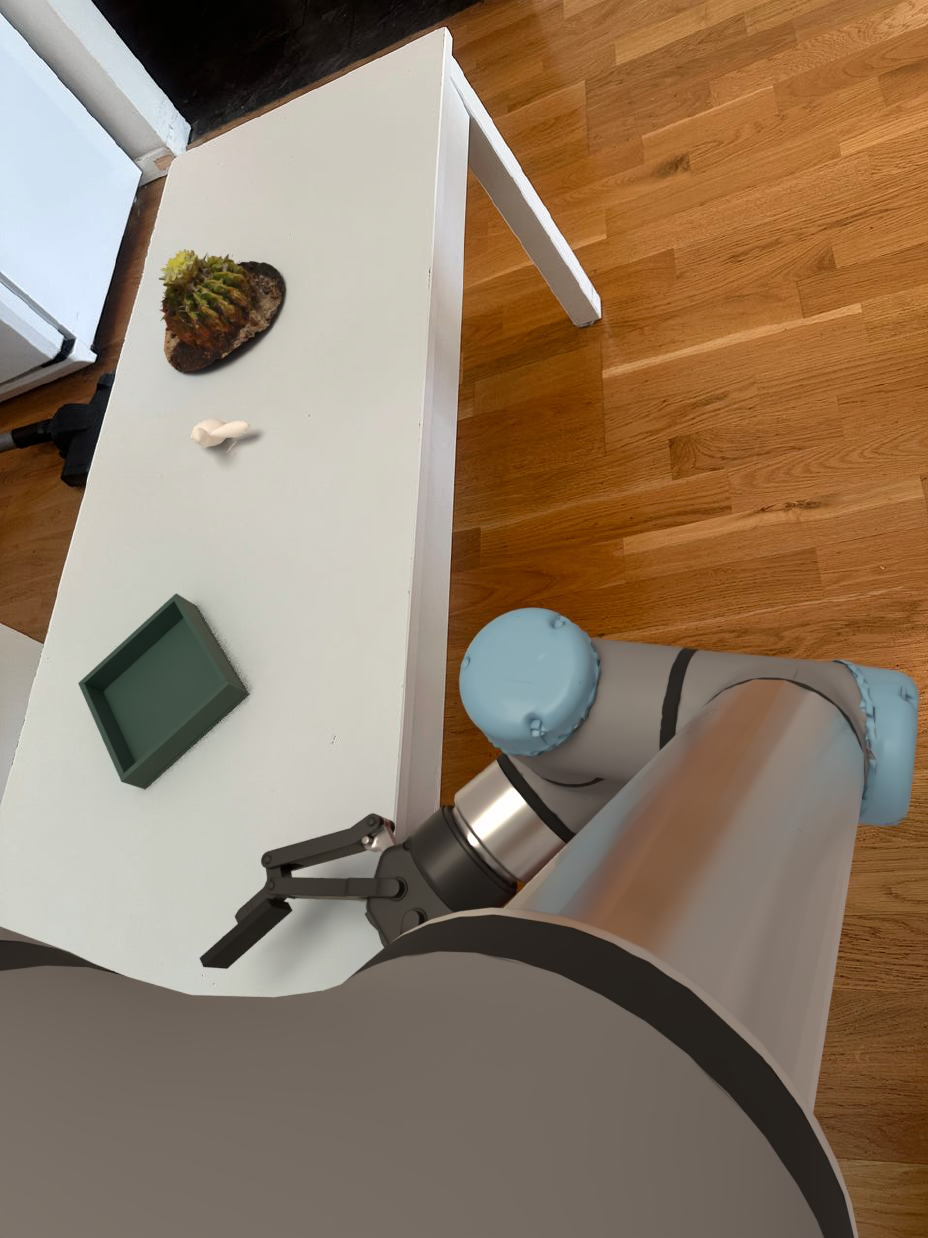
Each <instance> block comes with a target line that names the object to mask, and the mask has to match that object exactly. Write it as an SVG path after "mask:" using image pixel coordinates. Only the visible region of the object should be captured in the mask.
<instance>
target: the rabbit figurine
mask: <svg viewBox="0 0 928 1238" xmlns="http://www.w3.org/2000/svg"><path fill="white" fill-rule="evenodd" d="M250 429H251V423H249V422H248V421H246V420H234V421H230V422H227V423H226V422H225V421H223V420H222V419H219V418H207V419H204V420H202V421H199V422H198V423H197V424H195V426H194V427H193V428H192V430H191V435H190V437H189V438H190V439H191V440H192V441H193V442H194V444H196V445H198V446H201V447H215V446H218V445H220V444H222V443H223V442H224V441H225V440H226V439H227V438H228V439H229V438H234V437H239V436H242V435H244V434H245V433H247V432H249V430H250ZM237 443H238V441H237V440H235V441H234V442H233V443H232V444H231V445H230V446H229V448H227V450H226V453H229V452H230V451H231V450H232V449H233V448H234V446H235V445H236V444H237Z"/></svg>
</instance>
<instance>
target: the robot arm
mask: <svg viewBox="0 0 928 1238" xmlns="http://www.w3.org/2000/svg"><path fill="white" fill-rule="evenodd" d="M459 670H460V671H459V679H458V687H459V694H460V699H461V702H462V705H463V707H464V710H465V712H466V713H467V716H468V718H469V719H470V721H472V723H473V724H474V725H475V726H476V727H477V728H478V729H479V730H480V731H481V732H482V733H483V735H484V736H485V737H486V738H487V740H488V742H489V743H490V744H491V743H492V745H493V747H494V748H495V749H500V751H501V752H502V753H501V754H499V755H498V756H497V758H496V759H494V760H493V761H492V762H491V763H490V764H488V765H487V766H486V767H485V768H484V769H483V770H482V771H480V772H479V773H478V774H477V775H476V776H474V778H472V779H471V780H470V781H469V782H467V783H466V784H465V785H463V787H461V788H460V789H459V790H458V791H457V792H455V794H454V800H453V802H454V805H455V806H454V805H452V804H448V805H446V804H444V805H442V806H441V807H439V808H438V809H437V810H436V811H435V812H433V813H432V814H431V815H430V816H429V817H428V818H427V819H425V820H424V821H423V822H422V823H421V824H420V825H419V826H418V827H417V828H415V829H414V831H412V832H411V833H410V834H409V836H408V837H407V838H406V840H404V841H403V842H401V843H399V842H398V841H397V838H396V836H395V834H394V833H395V831H396V823H395V822H394V821H393V820H392V819H389V818H387V817H384V816H382V815H380V814H377V813H374V812H373V813H369V814H368V815H366V816H365V817H363V818H362V819H361V820H359V821H357V822H356V823H355V824H354V825H352V826H351V827H349V828H345V829H342V830H338V831H334V832H332V833H327V834H324V835H320V836H316V837H314V838H310V839H306V840H303V841H299V842H296V843H292V844H288V845H285V846H282V847H278V848H275V849H271V850H268V851H265V852H264V853H263V854H262V855H261V858H260V863H261V866H262V867H263V868H264V869H265V874H266V881H265V883H264V885H263V887H262V888H261V889H259V891H258V892H256V894H254V895H253V896H252V897H251V898H250V899H248V901H247V902H245V903H244V904H243V905H242V906H241V907H240V908H239V909H238V910H237V911H236V913H235V914H234V919H235V921H236V923H237V924H235V925H234V926H233V927H232V928H231V929H230V930H229V931H228V932H227V933H226V934H224V935H223V936H222V937H221V938H220V939H219V940H218V941H216V942H215V943H214V944H213V945H212V946H211V947H209V949H208V950H206V951H205V952H204V953H203V954H202V955H201V956H199V961H200V963H201V966H202V967H203V968H210V969H221V970H222V969H224V970H228V969H229V968H231V966H232V965H234V964H235V963H236V962H237V961H238V960H240V958H242V956H243V955H245V954H246V953H247V952H248V951H249V950H250V949H251V948H253V947H254V946H255V945H256V944H257V943H258V942H259V941H261V939H263V938H264V937H265V936H267V934H268V933H270V931H272V930H273V929H274V928H275V927H276V926H278V925H279V923H281V922H282V921H283V920H285V918H286V917H287V916H289V915H290V914H291V913H292V912H293V908H292V906H291V905H290V903H289V902H288V901H287V899H289V900H296V899H297V900H298V899H299V900H327V901H328V900H330V901H332V900H333V901H360V902H365V910H366V912H365V913H364V916H365V918H366V919H367V921H368V924H370V925H371V926H372V927H373V928H374V929H375V930H376V931H377V933H378V937H379V940H380V943H381V945H382V947H383V948H382V949H381V950H380V951H378V952H377V953H376V954H375V955H374V956H372V957H371V958H370V959H369V960H368V961H367V962H365V963H364V964H363V965H362V966H361V967H360V968H358V969H357V970H356V971H355V972H354V973H353V974H351V975H350V976H349V977H348V978H347V979H346V980H344V981H343V982H342V983H340V984H338V985H335V986H332V987H329V988H326V989H324V990H317V991H310V992H303V993H295V994H288V995H287V994H286V995H281V996H247V995H246V996H245V995H243V996H242V995H207V994H205V995H204V994H203V995H202V994H190V993H185V992H183V991H178V990H175V989H172V988H169V987H166V986H161V985H158V984H154V983H151V982H147V981H144V980H141V979H137V978H133V977H130V976H127V975H124V974H122V973H119V972H117V971H115V970H113V969H109V968H106V967H104V966H102V965H99V964H97V963H94V962H92V961H90V960H88V959H87V958H84V957H82V956H79V955H77V954H75V953H73V952H71V951H69V950H66V949H63V948H61V947H58V946H55V945H52V944H50V943H47V942H44V941H41V940H38V939H37V938H33V937H31V936H27V935H24V934H22V933H19V932H17V931H14V930H11V929H8V928H5V927H3V926H0V1238H859V1233H858V1228H857V1224H856V1217H855V1213H854V1207H853V1203H852V1200H851V1197H850V1193H849V1191H848V1188H847V1185H846V1183H845V1180H844V1176H843V1173H842V1170H841V1168H840V1166H839V1162H838V1159H837V1158H836V1156H835V1154H834V1152H833V1149H832V1147H831V1145H830V1143H829V1141H828V1140H827V1137H826V1135H825V1133H824V1131H823V1128H822V1126H821V1125H820V1123H819V1121H818V1119H817V1117H816V1116H815V1114H814V1110H815V1104H816V1098H817V1091H818V1085H819V1077H820V1071H821V1066H822V1060H823V1059H822V1057H823V1052H824V1047H825V1046H824V1045H825V1039H826V1033H827V1028H828V1027H827V1026H828V1021H829V1013H830V1007H831V1000H832V999H831V998H832V994H833V987H834V982H835V975H836V968H837V961H838V955H839V948H840V942H841V936H842V929H843V923H844V917H845V916H844V915H845V910H846V903H847V898H848V890H849V884H850V878H851V871H852V864H853V858H854V852H855V845H856V839H857V838H856V837H857V832H858V826H859V825H865V826H874V827H883V828H885V827H890V826H897V825H899V824H900V823H901V822H902V821H903V820H904V819H905V818H907V814H908V812H909V809H910V805H911V798H912V791H913V788H912V787H913V781H914V773H915V772H914V771H915V764H916V763H915V761H916V752H917V742H918V741H917V739H918V728H919V727H918V726H919V703H920V691H919V689H918V686H917V684H916V682H915V680H913V679H912V677H911V676H909V675H908V674H906V673H905V672H902V671H899V670H896V669H888V668H881V667H875V666H866V665H861V664H856V663H854V662H851V661H849V660H845V659H836V658H834V659H833V660H830V661H827V660H817V659H816V660H815V659H806V658H805V659H804V658H791V657H780V656H769V655H759V654H758V655H757V654H748V653H737V652H723V651H715V650H714V651H713V650H701V649H699V648H689V647H683V646H673V645H665V644H656V643H655V644H654V643H645V642H636V641H626V640H616V639H608V638H607V639H606V638H598V637H597V638H596V637H590V636H589V634H588V632H586V631H584V629H582V628H581V627H580V626H579V625H578V624H577V623H574V622H572V621H571V620H570V619H569V618H567V616H564V615H561V614H560V612H556V611H553V610H551V609H548V608H543V607H542V608H541V607H525V608H517V609H514V610H509V611H508V612H506V613H505V612H504V614H501V615H499V616H497V617H496V618H494V619H493V620H491V621H490V622H489V623H487V624H486V625H485V626H484V627H483V628H482V629H481V630H480V631H479V632H477V634H476V635H475V637H473V640H472V641H471V642H470V644H469V646H468V648H467V649H466V652H465V654H464V656H463V659H462V662H461V663H460V669H459ZM367 851H369V852H372V853H379V852H382V853H381V854H380V856H379V859H378V862H377V865H376V868H375V871H374V874H373V877H343V878H341V877H306V876H305V877H302V876H301V877H300V876H299V877H297V876H293V872H294V871H299V870H303V869H305V868H306V869H307V868H310V867H313V866H316V865H320V864H324V863H329V862H332V861H336V860H340V859H343V858H347V857H350V856H354V855H358V854H361V853H364V852H367ZM518 882H519V883H521V884H522V883H524V884H526V885H524V886H523V887H522V889H520V891H517V890H518V887H519V885H518ZM517 892H518V893H517Z"/></svg>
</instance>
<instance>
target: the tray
mask: <svg viewBox="0 0 928 1238" xmlns="http://www.w3.org/2000/svg"><path fill="white" fill-rule="evenodd" d="M78 687H79V689H80V691H81V693H82V695H83V697H84V700H85V702H86V704H87V707H88V710H89V712H90V714H91V716H92V718H93V720H94V721H93V722H94V723H95V725H96V727H97V730H98V731H99V734H100V737H101V739H102V741H103V743H104V745H105V746H104V747H105V748H106V750H107V753H108V755H109V757H110V759H111V762H112V764H113V766H114V769H115V771H116V773H117V775H118V777H119V780H120V782H121V783H123V784H126V785H130V786H133V787H136V788H139V789H143V790H146V789H147V788H148V787H149V786H150V785H151V784H153V782H155V781H156V780H157V779H158V778H159V777H160V776H161V775H162V774H164V772H166V771H167V770H168V769H169V768H170V767H171V766H172V765H173V764H174V763H175V762H176V761H178V760H179V759H180V758H181V757H183V755H185V753H186V752H188V751H189V750H190V749H191V748H192V747H193V746H194V745H195V744H196V743H198V742H199V741H200V740H201V739H202V738H203V737H204V736H205V735H206V734H207V733H209V732H210V730H212V729H213V728H214V727H215V726H216V725H218V723H220V722H221V721H222V720H223V719H224V718H225V717H226V716H227V715H228V714H229V713H231V712H232V710H234V709H235V708H236V707H237V706H238V705H240V703H241V702H243V701H244V699H246V698H247V697H248V696H250V695H249V692H248V690H247V689H246V686H245V685H244V683H243V682H242V680H241V678H240V677H239V675H238V674H237V671H236V670H235V668H234V666H233V665H232V663H231V662H230V660H229V658H228V657H227V655H226V653H225V652H224V650H223V648H222V646H221V645H220V643H219V642H218V640H217V638H216V637H215V635H214V633H213V631H212V630H211V628H210V627H209V625H208V623H207V621H206V620H205V618H204V617H203V615H202V613H201V612H200V609H199V608H198V606H197V604H195V603H193V602H191V601H189V599H186V598H185V597H183V596H181V595H180V594H178V593H174V594H173V595H172V596H171V597H170V598H168V599H167V601H165V603H163V604H162V606H160V607H158V609H157V610H156V611H154V612H153V614H152V615H150V617H149V618H147V619H146V620H145V621H144V622H143V623H141V625H140V626H138V627H137V628H136V629H135V630H134V631H133V632H132V633H131V634H130V635H129V636H128V637H126V639H125V640H123V641H122V642H121V643H120V644H118V646H116V648H115V649H113V651H111V652H110V653H109V654H108V655H107V656H106V657H105V658H103V660H101V661H100V662H99V663H98V664H97V665H96V666H94V667H93V669H91V671H90V672H89V673H87V674H86V675H85V676H84V677H83V678H82V679H81V680H80V681H78Z"/></svg>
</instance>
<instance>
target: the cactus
mask: <svg viewBox="0 0 928 1238" xmlns="http://www.w3.org/2000/svg"><path fill="white" fill-rule="evenodd" d="M174 254H175V256H174V258H173V257H170V258H168V260H167V263H165V264H164V266H166V267H162V268H160V269H159V270H160V272H163V276H161V277H158V280H159V281H164V282H163V283H162V286H163V287H166V289H165V288H164V291H162V294H164V296H163V299H162V300H161V301H160V303H161V305H160V307H162V308H161V309H159V311H160V312H162V313H163V314H164V315H162V318H161V319H160V321H164V322H165V330H164V331H165V333H164V335H165V336H164V343H163V352H164V356H165V358H166V361H167V362H168V364H169V365H170V366H171V367H173V369H175V370H177V371H179V372H180V373H183V372H187V371H188V372H193V371H196V370H197V371H198V370H201V369H204V368H205V367H208V366H210V365H212V364H213V362H214V361H215V360H222V359H223V358H225V357H226V356H228V355H229V353H231V352H232V351H234V350H235V349H237V348H238V347H239V346H243V342H247V341H248V340H249V339H250V338H255V336H256V334H255V333H260V332H262V331H264V330H266V328H267V327H268V326H270V324H271V320H272V319H273V317H274V316H275V314H276V313H277V311H278V309H279V305H280V304H281V301H283V299H282V298H283V293H284V292H285V283H284V280H283V278H282V275H281V272H280V271H279V269H277V268H276V267H274V265H272V264H270V263H267V262H263V261H262V262H258V261H255V260H253V261H252V260H249V261H243V260H241V261H238V263H236V262H235V261H234V260H233V259H231V258H229V257H230V253H228V254H226V256H225V257H224V258H223V256H222V255H220V256H217V255H211V256H208V254H209V253H208V252H206V254H205V255H204V256H203V258H199V256H198V254H196V253H195V250H192V249H191V250H189V249H186V248H184V249H183V250H178V253H177V252H174ZM233 255H234V254H231V257H232V258H233Z"/></svg>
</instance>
